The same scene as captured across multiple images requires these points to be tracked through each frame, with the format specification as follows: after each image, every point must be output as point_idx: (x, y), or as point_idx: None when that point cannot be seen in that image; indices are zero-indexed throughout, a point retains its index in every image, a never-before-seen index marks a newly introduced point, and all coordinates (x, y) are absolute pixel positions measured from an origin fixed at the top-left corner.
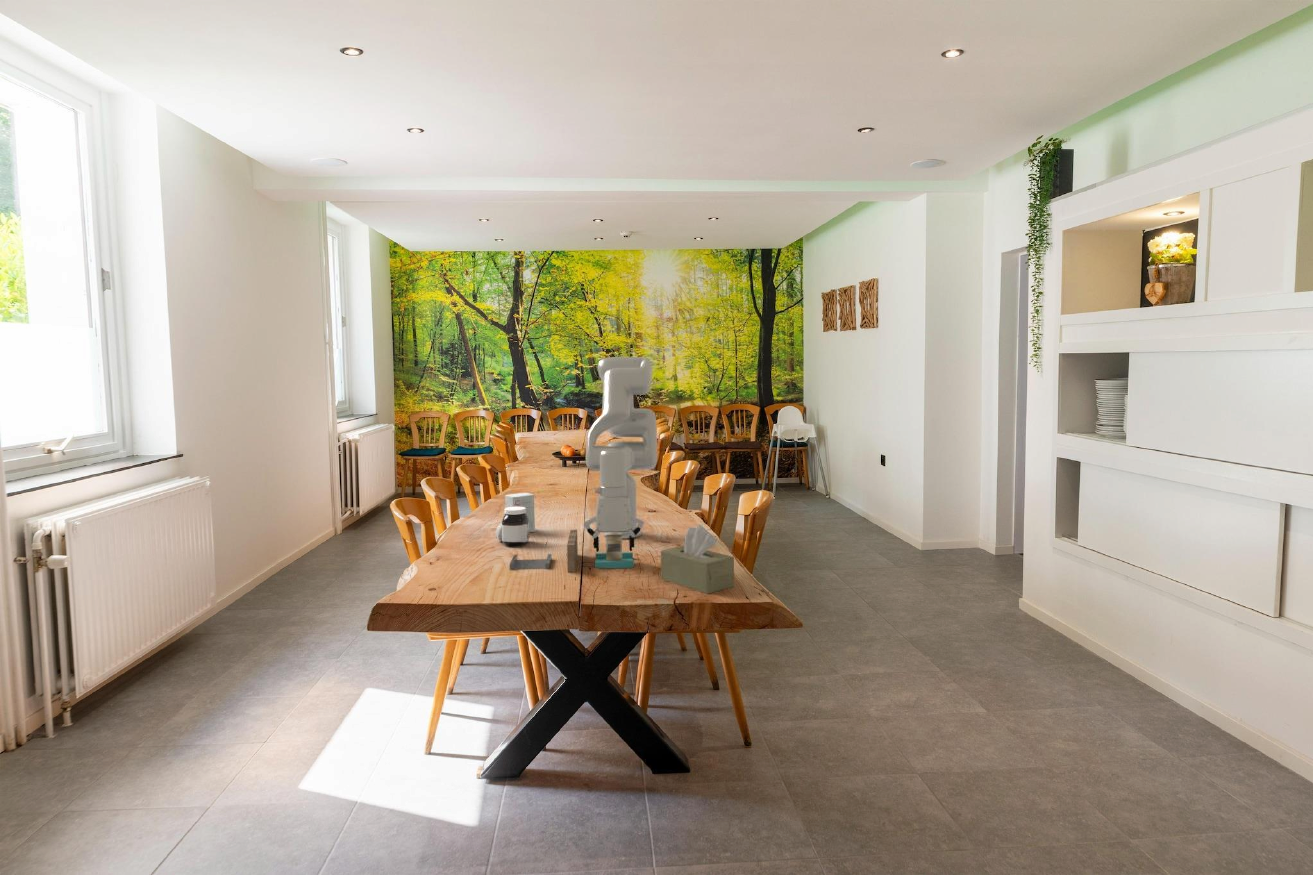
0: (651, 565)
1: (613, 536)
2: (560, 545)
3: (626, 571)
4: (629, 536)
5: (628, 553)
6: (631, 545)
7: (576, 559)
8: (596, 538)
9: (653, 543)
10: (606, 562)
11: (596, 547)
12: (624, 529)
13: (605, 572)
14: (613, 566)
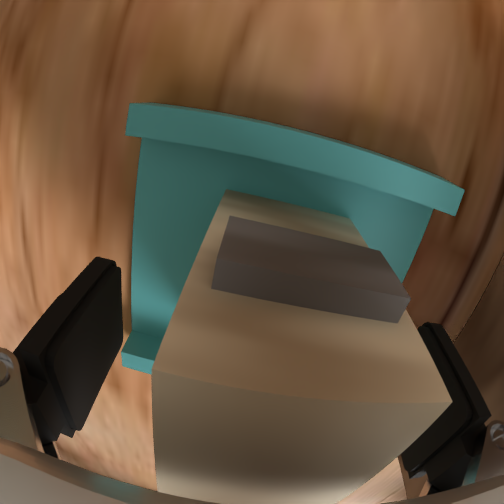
0: (37, 143)
1: (308, 440)
2: (367, 491)
3: (234, 7)
4: (69, 415)
5: (148, 357)
6: (75, 285)
7: (468, 343)
8: (488, 415)
9: (78, 448)
10: (384, 158)
11: (452, 347)
12: (29, 500)
13: (402, 42)
14: (317, 134)
